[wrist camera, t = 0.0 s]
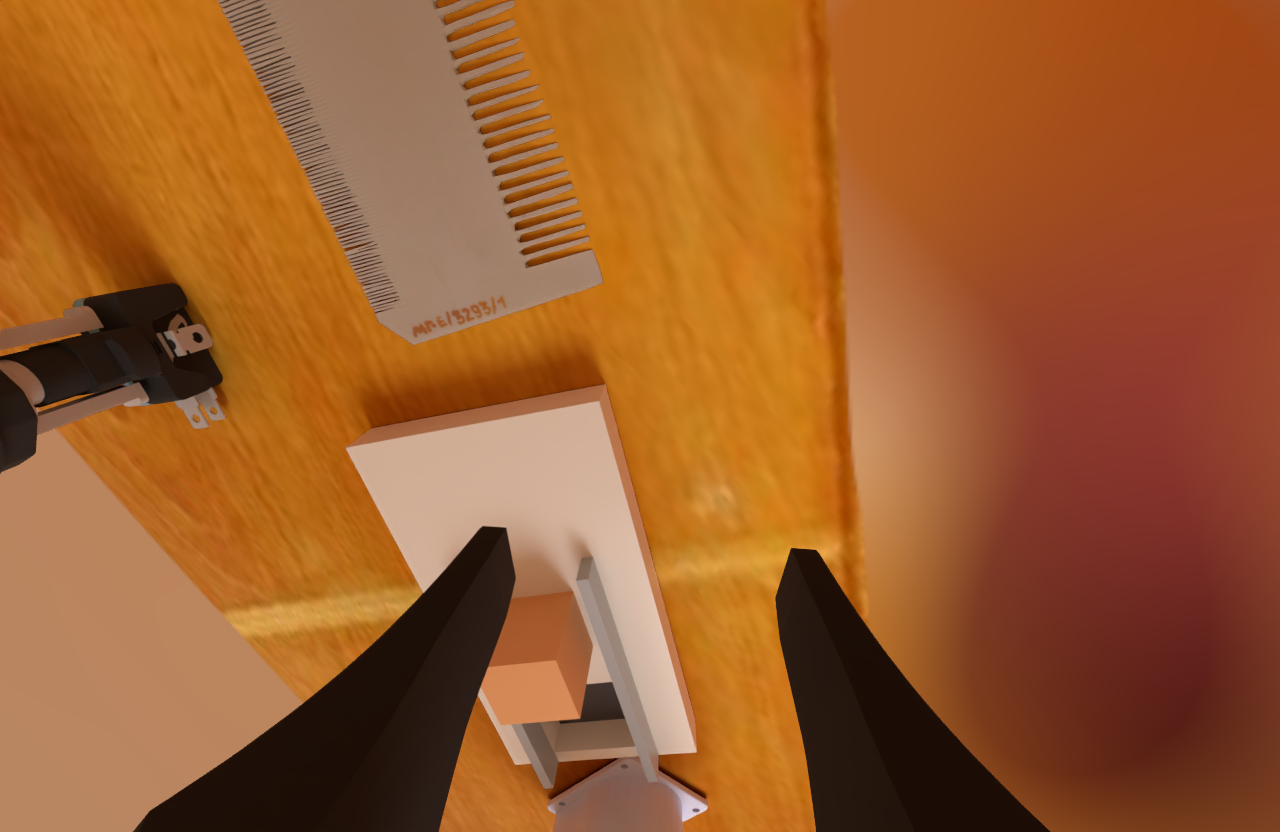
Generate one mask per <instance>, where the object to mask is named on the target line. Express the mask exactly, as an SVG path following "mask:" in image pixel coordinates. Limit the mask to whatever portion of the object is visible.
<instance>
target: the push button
mask: <svg viewBox="0 0 1280 832" xmlns="http://www.w3.org/2000/svg"><path fill="white" fill-rule="evenodd" d="M186 304H187V299H186V297H185V295H184V293H183V291H182V289H181V288H180V287H179V286H178V285H176V284H173V283H169V284H163V285H157V286H151V287H144V288H138V289H132V290H126V291H120V292H115V293H109V294H104V295H99V296H93V297H88V298H82V299H78V300H76V301H74V303H73V307H74V308H70V309H65V310H64V311H63V315H64V318H59V319H54V320H48V321H43V322H38V323H32V324H27V325H22V326H17V327H11V328H6V329H1V330H0V350H4V349H8V348H13V347H17V346H22V345H26V344H31V343H35V342H40V341H44V340H49V339H53V338H58V337H62V336H67V335H72V334H76V333H81V334H82V335H80V336H76V337H72V338H67V339H63V340H61V341H56V342H52V343H47V344H43V345H39V346H34V347H30V348H29V350H26V351H22V352H18V353H13V354H9V355H5V356H0V473H1V472H2V471H5V470H7V469H10V468H12V467H15V466H17V465H19V464H21V463H22V462H24V461H25V460H27V459H28V458H30V457H31V456H33V455H34V454H35V452H36V440H37V435H38V434H41V433H44V432H47V431H49V430H52V429H55V428H58V427H60V426H63V425H66V424H69V423H71V422H74V421H77V420H79V419H82V418H85V417H88V416H90V415H93V414H96V413H99V412H101V411H104V410H107V409H110V408H112V407H115V406H118V405H120V404H123V405H125V406H127V407H132V406H138V405H140V406H144V405H151V404H159V403H166V402H172V401H174V402H175V403H176V405H177V407H178V408H179V409H180V408H182V410H183V411H184V413H185V415H186V416H187V418H188V420H189V421H190V423H191V424H192V426H193V428H195V429H200V428H207V427H209V423H208V422H207V420H206V418H205V417H204V415H203V413H202V412H201V410H200V408H199V406H200V403H199V401H200V402H201V404H202V406H203V407H204V409H205V411H206V412H207V414H208V416H209V417H210V419H211V420H213V421H215V420H222V419H226V416H225V414H224V412H223V410H222V409H221V407H220V405H219V403H218V402H217V400H216V398H218V397H217V395H216V393H215V391H214V390H213V388H212V387H213V386H216V385H218V384H220V383H221V382H222V380H223V379H222V375H221V373H220V371H219V370H218V368H217V366H216V364H215V362H214V361H213V359H212V357H211V355H210V354H209V352H208V350H207V348H209V347H212V344H213V341H212V340H211V338H210V336H209V334H208V332H207V330H206V329H205V327H204V326H203V325H201V324H195V325H193V323H192V321H191V319H190V318H189V316H188V314H187V312H186V310H185V309H184V307H183V306H185V305H186ZM198 333H199V334H200V335H201V336H202V339H201V337H200V336H199V334H198ZM121 384H123V385H121ZM118 385H119V386H118ZM115 386H116V387H115ZM112 387H113V388H112ZM109 388H110V389H109ZM106 389H107V390H106ZM103 390H104V391H103ZM100 391H101V392H100ZM97 392H98V393H97ZM91 393H95V394H92V395H89V396H86V397H83V398H80V399H77V400H74V401H71V402H68V403H65V404H62V405H59V406H56V407H53V408H50V409H47V410H44V411H41V412H38V413H37V411H36V409H35V407H43V406H46V405H49V404H52V403H55V402H58V401H61V400H65V399H68V398H71V397H74V396H78V395H85V394H91ZM210 407H214V408H216V410H217V412H218V413H217V414H214V413H213V412H212V411H211V410H210ZM193 415H197V416H198V417H199V418H200V422H197V421H195V420H194V418H193Z"/></svg>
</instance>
